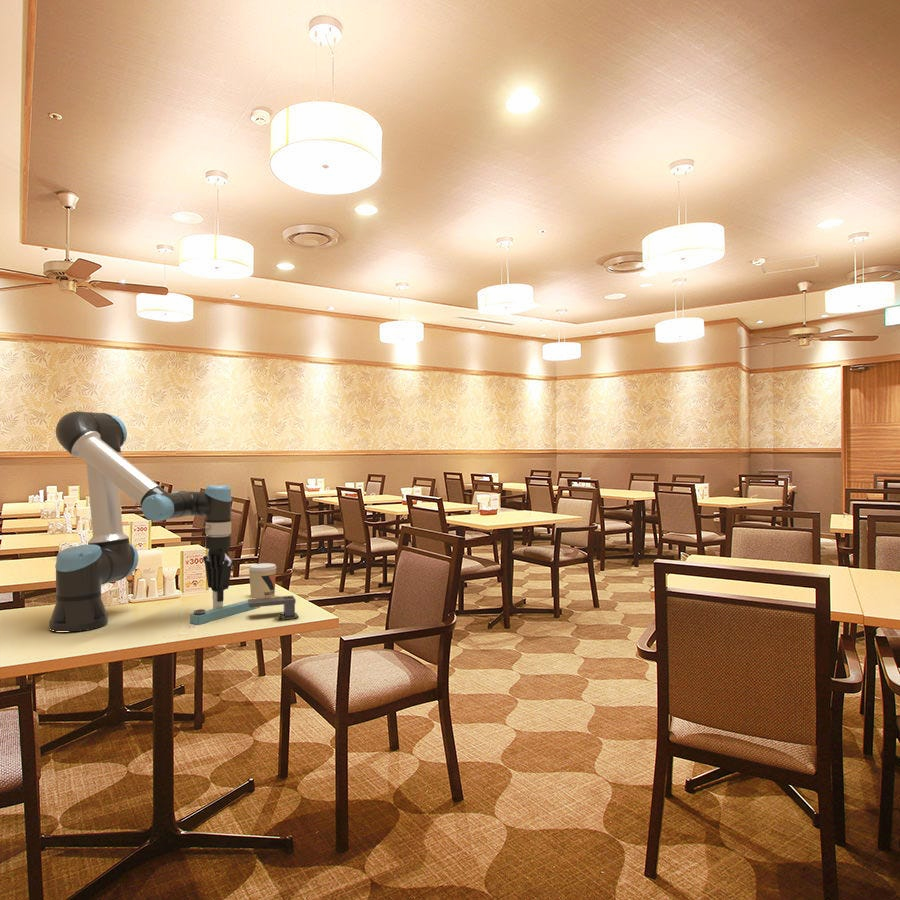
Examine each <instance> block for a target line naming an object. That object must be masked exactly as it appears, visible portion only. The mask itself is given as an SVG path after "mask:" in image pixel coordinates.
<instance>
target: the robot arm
mask: <svg viewBox="0 0 900 900" xmlns="http://www.w3.org/2000/svg"><path fill="white" fill-rule="evenodd" d="M127 436H128V431H127V427H126V426H125V423H124V422H123V420H121V419H120V418H119V417H118V416H116V415H113V414H109V413H105V412H92V411H91V412H89V411H81V410H80V411H79V410H78V411H77V410H76V411H71V412H68V413H66V414H64V415H63V416H62V417H60V418H59V420H58V422H57V423H56V427H55V437H56V439H57V441H58V443H59V445H60V446H61V447H62V449H64V450H65V451H67V453H69V454H70V455H72V456H73V457H74V458H76V459H82V460H83V461H85V464H86V473H87V474H86V476H87V485H88V486H87V487H88V496H89V497H88V499H89V508H90V518H91V530H92V537H91V538H90V539H89V541H87V544H82V545H81V544H80V545H77V546H76V545H75V546H70V547H67V548H64V549H61V550H60V551H59V552H58V553H57V555H56V559H55V562H56V563H55V591H56V592H55V594H56V595H55V600H56V601H55V605H54V608H53V611H52V612H51V613H52V614H51V617H50V618H49V619H50V620H49V621H48V623H49V627H48V629H51V630H54V631H80V630H86V631H88V630H87V629H91V630H93V629H92V628H95V629H98V628H97V627H99V628H101V627H100V626H102V627H104V626H106V625H107V624H108V623H109V622H108V621H109V619H108V618H109V616H108V612H107V610H106V607H105V604H104V602H103V600H102V585H106V584H108V583H112V582H118V581H121V580H123V579H125V578H128V577H129V576H130V575H132V574H133V573H134V572H135V570H136V569H137V567H138V564H139V553H138V550H137V549H136V548H135V547H134V545H133V544H132V543H130V537H129V536H128V535H127V534H125V532H124V529H123V528H124V527H123V518H122V508H121V507H122V506H121V495H120V494H121V493H120V491H121V490H122V491H123V492H124V493H125V494H126V495H127V496H128V497H130V498H131V499H132V500H133V501H135V502H136V503H137V504H139V505H140V506H141V512H142V514H143V517H145V518H146V519H147V520H148V521H151V522H156V521H157V522H160V521H161V522H163V521H166V520H170V519H177V518H182V517H190V516H193V517H194V516H195V517H198V516H199V517H205V535H206V537H205V538H204V539H205V541H204V544H205V545H204V546H205V549H206V550H208V551H207V555H204V556H203V557H202V560H203V562H204V567H205V572H206V573H205V575H206V581H207V582H206V583H207V587H208V588H210V589H211V591H212V609H215V608H219V607H223V606H224V596H225V595H224V594H225V593H224V591H225V590H229V588H230V587H229V586H230V581H231V580H230V579H231V574H232V573H231V572H232V569H233V568H232V567H233V565H234V562H235V560H234V559H231V558H230V557H229V548H231V547H232V536H231V534H232V501H233V500H232V489H231V487H230V486H229V485H225V484H223V485H222V484H219V485H218V484H215V485H207V486H206V487H205V489H204V490H205V491H187V490H179V491H176V490H175V491H173V492H171V493H170V492H168V491H167V490H165V489H164V488H163V487H161V486H160V485H159V484H157V483H156V482H155V481H154V480H153V479H152V478H150V477H149V476H147V475H146V474H145V473H144V472H143V471H141V470H140V469H139V468H137V466H135V465H134V464H132V462H130V461H129V460H128V459H126V458H125V457H124V456H123V455H122V449H121V448H122V446H123V445H124V444H125V442H126V441H127V438H128V437H127ZM105 624H106V625H105ZM103 625H104V626H103ZM80 632H81V631H80Z"/></svg>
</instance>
